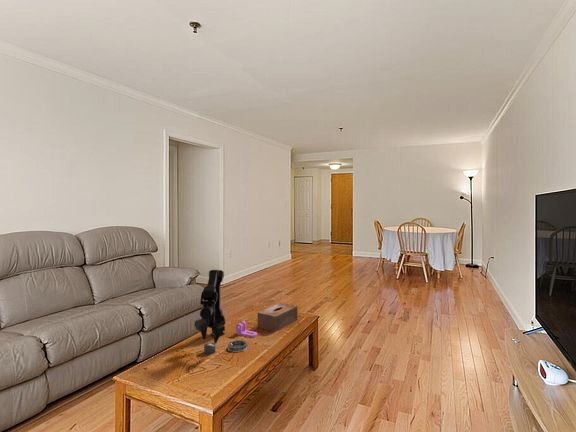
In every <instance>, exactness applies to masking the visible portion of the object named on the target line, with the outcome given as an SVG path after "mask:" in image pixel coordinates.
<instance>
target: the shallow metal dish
mask: <svg viewBox="0 0 576 432" xmlns="http://www.w3.org/2000/svg"><path fill="white" fill-rule="evenodd" d="M248 348H249V345H248V342H247V341H246V340H244V339H243V340H241V339H237V340H232V341H230V342H229V343H228V346H227V350H228V351H230V352H233V353H239V352H244V351H246V350H247V349H248Z"/></svg>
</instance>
